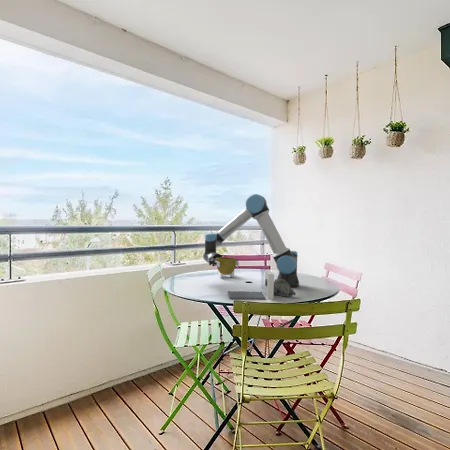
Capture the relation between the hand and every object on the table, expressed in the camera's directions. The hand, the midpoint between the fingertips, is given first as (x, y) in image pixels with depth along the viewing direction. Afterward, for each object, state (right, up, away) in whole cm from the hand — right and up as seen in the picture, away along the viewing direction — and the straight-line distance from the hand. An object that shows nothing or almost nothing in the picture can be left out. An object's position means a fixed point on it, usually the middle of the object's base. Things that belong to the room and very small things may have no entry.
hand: (228, 264), depth 192 cm
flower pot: (-2, -6, +4) cm, 7 cm away
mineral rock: (+31, -19, +2) cm, 37 cm away
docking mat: (+10, -18, -1) cm, 21 cm away
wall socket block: (+23, -18, -1) cm, 29 cm away
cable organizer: (-2, -16, +53) cm, 56 cm away
